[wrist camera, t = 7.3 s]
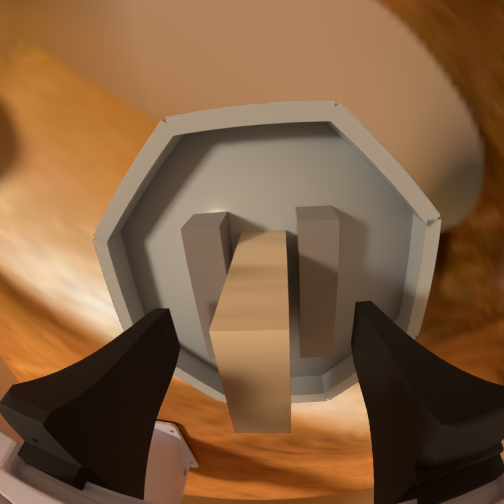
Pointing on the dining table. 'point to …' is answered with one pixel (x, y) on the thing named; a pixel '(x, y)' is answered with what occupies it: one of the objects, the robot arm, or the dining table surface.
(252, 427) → the pine wood chunk
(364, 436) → the dining table surface
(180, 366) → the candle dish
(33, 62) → the dining table surface
